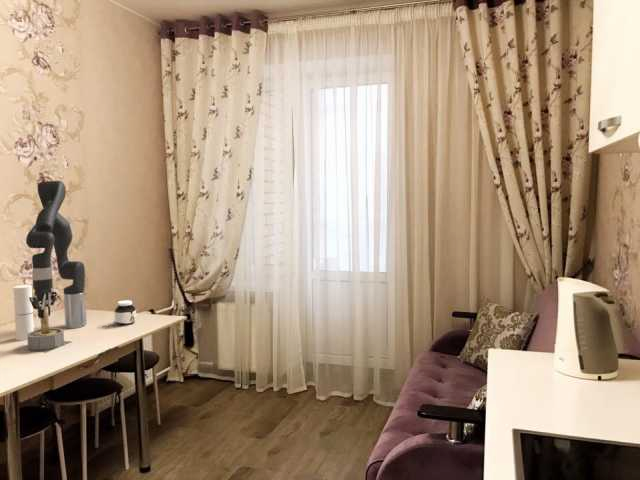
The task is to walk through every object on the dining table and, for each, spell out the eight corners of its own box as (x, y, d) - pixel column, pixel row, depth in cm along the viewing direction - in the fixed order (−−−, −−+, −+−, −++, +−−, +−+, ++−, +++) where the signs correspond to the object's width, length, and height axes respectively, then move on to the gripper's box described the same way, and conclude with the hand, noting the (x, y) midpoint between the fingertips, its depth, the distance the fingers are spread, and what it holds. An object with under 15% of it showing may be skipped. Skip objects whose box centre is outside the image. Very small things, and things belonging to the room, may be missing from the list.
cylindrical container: (26, 342, 225) (23, 288, 223) (12, 341, 227) (9, 287, 225) (37, 338, 232) (35, 285, 230) (24, 337, 234) (21, 284, 232)
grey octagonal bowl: (44, 340, 226) (43, 327, 226) (70, 342, 223) (69, 329, 223) (20, 349, 213) (19, 335, 212) (47, 351, 210) (47, 337, 209)
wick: (45, 337, 219) (43, 306, 218) (51, 337, 219) (49, 306, 218) (39, 339, 217) (38, 307, 215) (45, 339, 216) (44, 307, 215)
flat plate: (45, 341, 227) (45, 339, 227) (72, 343, 224) (72, 341, 224) (18, 352, 212) (17, 350, 212) (46, 354, 209) (46, 352, 209)
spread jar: (122, 327, 252) (121, 304, 251) (108, 324, 258) (107, 302, 257) (141, 322, 262) (141, 300, 261) (127, 319, 268) (127, 297, 267)
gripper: (47, 275, 223) (48, 312, 224) (22, 280, 209) (24, 320, 211) (61, 275, 221) (63, 313, 223) (37, 280, 208) (39, 321, 209)
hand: (44, 316), depth 217 cm, fingers closed on wick, 3 cm apart
